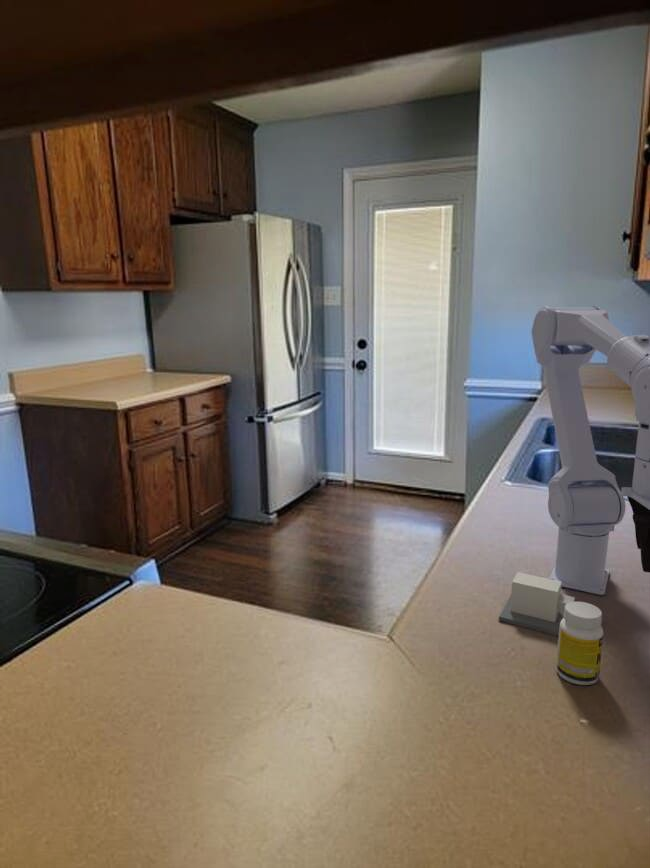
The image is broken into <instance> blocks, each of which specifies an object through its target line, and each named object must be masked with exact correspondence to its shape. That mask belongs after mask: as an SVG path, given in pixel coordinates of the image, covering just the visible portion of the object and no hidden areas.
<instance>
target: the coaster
mask: <svg viewBox="0 0 650 868" xmlns="http://www.w3.org/2000/svg"><path fill="white" fill-rule="evenodd" d="M510 605H511V595H509V597H508V600H507V602H506V604H505V605H504V607H503V609H502V611H501V613H500V615H499V617H498V621H499V622H503V623H507V624H511V625H515V626H519V627H523V628H526V629H531V630H534V631H537V632H542V633H545V634H548V635H549V634H550V635H552V636H556V637H557V636H558V637H559V626H560V622H561V620H562V619H563V618H564V611H561V610H559V613H558V615H557V618H556V621H555V622H552V621H548V620H544V619H540V618H536V617H532V616H528V615H524V614H520V613H516V612H512V611H510Z"/></svg>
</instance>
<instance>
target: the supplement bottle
mask: <svg viewBox="0 0 650 868" xmlns="http://www.w3.org/2000/svg"><path fill="white" fill-rule="evenodd" d="M602 618H603V613H602V610H601V609H600V608H599V607H598V606H596V605H594V604H591V603H589V602H585V601H574V602H570V603H567V604H566V605H565V609H564V618H563V619H562V620H561V622H560V626H559V636H558V637H557V638H558V639H557V650H556V661H555V670H556V673H557V674H558V675H559V677H561V679H563V680H565V681H567V682H569V683H572V684H575V685H580V686H588V685H589V686H590V685H593V684H595V683H597V682H598V680H599V676H600V669H601V661H602V659H601V658H602V650H603V640H604V629H603V627H602V622H603V620H602Z"/></svg>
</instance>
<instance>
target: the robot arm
mask: <svg viewBox="0 0 650 868" xmlns="http://www.w3.org/2000/svg"><path fill="white" fill-rule="evenodd" d="M531 338H532V343H533V348H534V353H535V359H536V362H537V364H539V365H540V366H541V367H543V373H544V378H545V384H546V389H547V394H548V395H547V396H548V399H549V405H550V410H551V415H552V422H553V426H554V431H555V437H556V442H557V448H558V453H559V456H560V457H559V458H560V463H561V468H560V470H559V471H557V472H556V474H554V475H553V476H552V477H551V479H549V481H548V483H547V485H548V486H547V489H548V499H547V509H548V513H549V516H550V518H551V521H553V523H554V524H555V526H557V527H558V533H557V545H556V555H555V564H554V567H553V568H552V571H551V574H550V576H549V578H548V579H552V580H557V581H562V585H561V588H562V587H564V588H567V589H573V590H576V591H581V592H586V593H590V594H594V595H595V594H596V595H599V596H604V595H605V592H606V588H607V583H608V578H609V574H610V569H609V568H606V566H607V565H606V564H607V554H608V545H609V535H610V532H611V533H612V532H614V531H615V526H616V525H618V524H620V523H621V522H622V521H623V519H624V517H625V514H626V500H625V497H627V500H628V503H629V505H630V507H631V509H632V510H631V511H632V521H633V523H634V531H635V532H634V533H635V542H636V546H637V547H636V548H637V549H638V550H640V562H641V568H642V570H643V572H644V573H650V336H648V335H647V334H634V335H626V334H624V332H622V331H621V330H620V329H619V327H617V326H615V325H614V324H613V322H611V321H610V320H609V312H608V311H607V310H604V309H603V308H601V307H600V306H595V305H594V306H589V307H586V306H584V307H582V306H580V307H576V306H574V307H571V306H570V307H568V306H567V307H566V306H565V307H551V306H542V307H541V308H540V309H538V311H537V313H536V314H535V317H534V319H533V324H532V328H531ZM596 351H597V352H599V353H601V354H602V355H604V356H606V357H607V359H606V362H607V367H608V369H609V370H610V371H611V372H612V373H613V374H615V375H616V376H617V377H618V378H620V379H621V380H622V381H623V382H624V383H626V384H627V385H628V386H629V387H630V388H631V396H632V399H633V402H634V404H635V409H634V410H635V412H634V417H635V420H636V422H638V428H637V429H638V430H637V439H636V447H635V457H634V466H633V472H632V473H633V475H632V484H631V486H630V487H628V486H622V487H621V488H619V486H618V483H617V480H616V475H615V474H614V473H613V472H611V471H610V470H608V469H607V468H605V467H604V466H602V465H600V464H599V463H598V459H597V454H596V450H595V445H594V441H593V440H594V439H593V435H592V431H591V430H592V429H591V427H590V426H591V425H590V421H589V416H588V412H587V411H588V410H587V406H586V402H585V397H584V392H583V387H582V384H581V383H582V382H581V377H580V373H579V372H580V371H579V370H580V368H581V367H583V366H584V365H586V364H589V363H590V361H591V359H592V358H593V356H594V354H595V353H596Z"/></svg>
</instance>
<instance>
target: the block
mask: <svg viewBox="0 0 650 868" xmlns="http://www.w3.org/2000/svg"><path fill="white" fill-rule="evenodd" d="M561 585H562V581H557V580H552V579H549V578H548V577H542V576H537V575H533V574H529V573H524V572H519V571H517V573H516V574H515V577H513V580H512V582H511V593H510V596H511V605H510V611H512V612H516V613H520V614H524V615H528V616H532V617H536V618H540V619H544V620H548V621H552V622H555V621H556V618H557V615H558V613H559V610H561V611H564V609H565V605H566V604H567V603H570V602H576V601H575V599H576V598H575V596H571V595H567V594H562V586H561Z"/></svg>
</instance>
